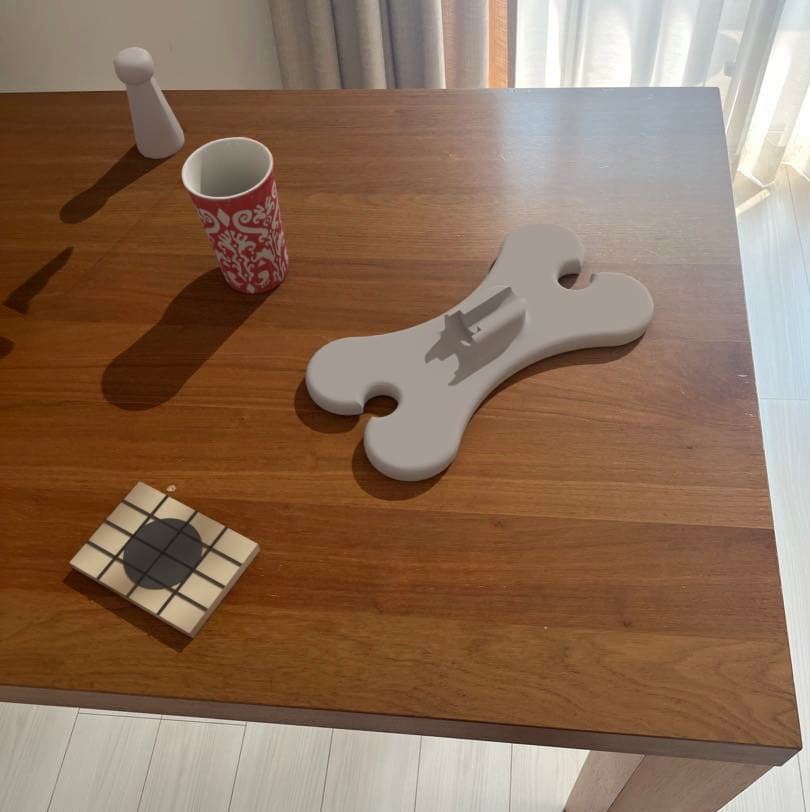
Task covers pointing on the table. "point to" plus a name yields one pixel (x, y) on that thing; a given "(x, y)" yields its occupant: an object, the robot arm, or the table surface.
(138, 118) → the white pawn
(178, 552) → the grid board
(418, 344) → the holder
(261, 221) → the mug
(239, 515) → the table surface
